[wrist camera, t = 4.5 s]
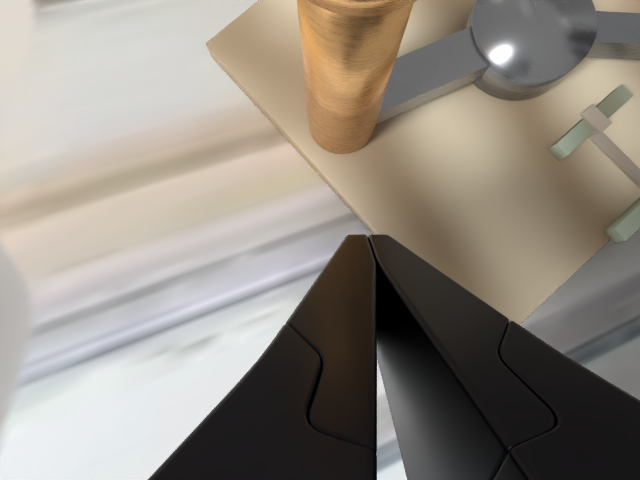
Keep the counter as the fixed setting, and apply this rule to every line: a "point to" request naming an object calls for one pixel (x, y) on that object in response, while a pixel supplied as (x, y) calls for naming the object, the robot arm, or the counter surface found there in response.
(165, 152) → the counter surface
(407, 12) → the capstan
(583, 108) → the wooden cutting board
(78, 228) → the counter surface
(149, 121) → the counter surface
